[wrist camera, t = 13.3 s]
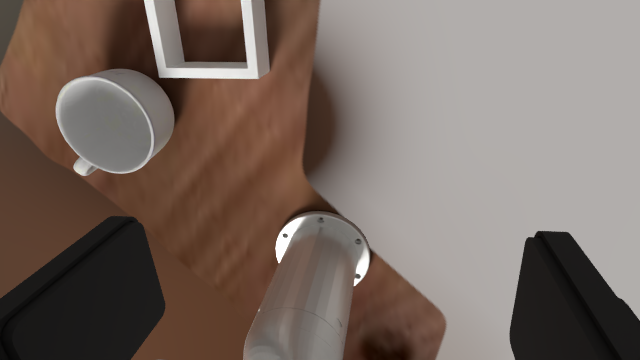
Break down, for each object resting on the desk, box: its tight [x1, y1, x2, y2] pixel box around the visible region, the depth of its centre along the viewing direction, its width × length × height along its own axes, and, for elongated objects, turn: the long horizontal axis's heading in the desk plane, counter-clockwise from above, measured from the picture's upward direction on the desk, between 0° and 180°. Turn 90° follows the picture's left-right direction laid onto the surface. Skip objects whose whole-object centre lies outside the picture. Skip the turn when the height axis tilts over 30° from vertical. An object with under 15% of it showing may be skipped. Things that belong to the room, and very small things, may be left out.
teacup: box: [56, 69, 174, 176], centre depth 45 cm, size 14×11×8 cm
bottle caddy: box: [144, 0, 270, 79], centre depth 40 cm, size 11×11×4 cm
